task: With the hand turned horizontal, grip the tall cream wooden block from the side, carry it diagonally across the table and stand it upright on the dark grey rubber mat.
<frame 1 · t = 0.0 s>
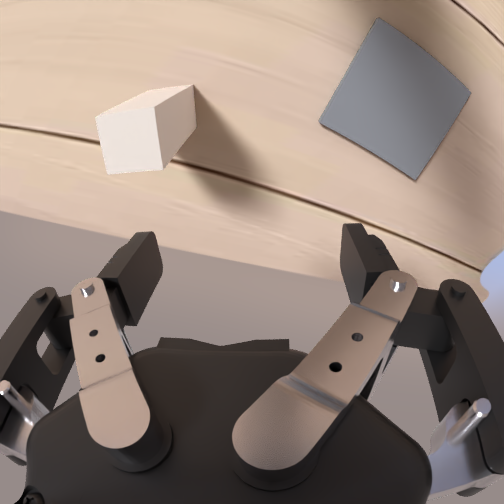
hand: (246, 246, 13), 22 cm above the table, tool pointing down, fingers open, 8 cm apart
cream block: (173, 108, 29), on the table
grey mat: (400, 101, 27), on the table
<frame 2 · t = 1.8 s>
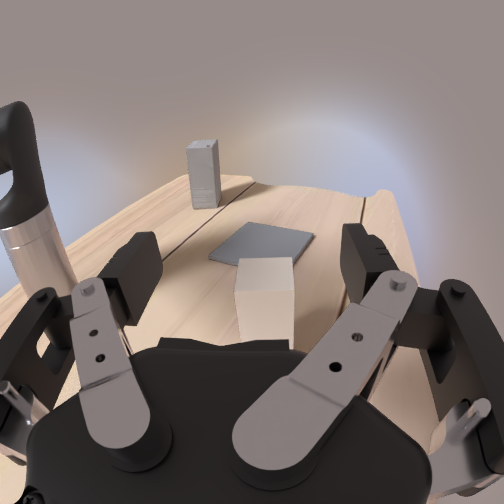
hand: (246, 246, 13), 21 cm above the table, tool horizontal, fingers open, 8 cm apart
cream block: (269, 358, 33), on the table
skincare box: (209, 203, 76), on the table
grey mat: (263, 247, 54), on the table
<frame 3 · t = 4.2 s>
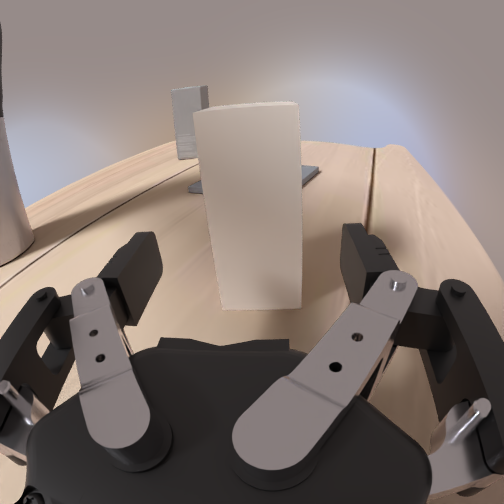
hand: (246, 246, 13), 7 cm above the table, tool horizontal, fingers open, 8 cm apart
cream block: (262, 286, 21), on the table
skincare box: (197, 155, 64), on the table
grey mat: (257, 180, 43), on the table
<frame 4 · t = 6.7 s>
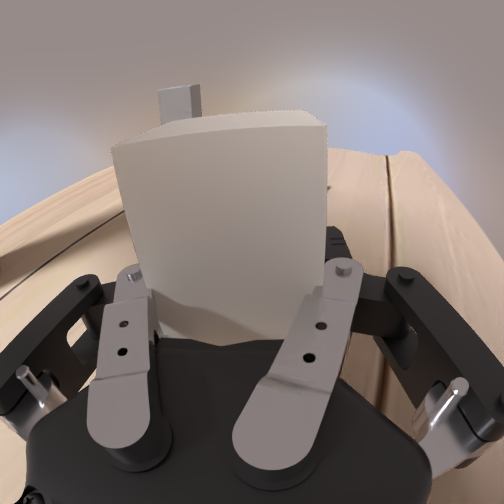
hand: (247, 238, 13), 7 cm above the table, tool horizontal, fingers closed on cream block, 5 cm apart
cream block: (255, 379, 14), on the table, touching gripper
skincare box: (188, 163, 57), on the table
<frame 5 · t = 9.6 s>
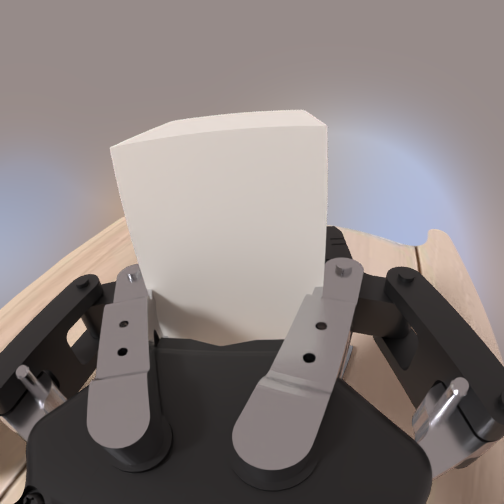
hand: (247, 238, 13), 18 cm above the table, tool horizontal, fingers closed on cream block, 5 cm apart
cream block: (255, 379, 14), point 11 cm above the table, touching gripper
when the fingers open (9 cm above the table, at t = 12.8 s): cream block drops 1 cm, resting on grey mat.
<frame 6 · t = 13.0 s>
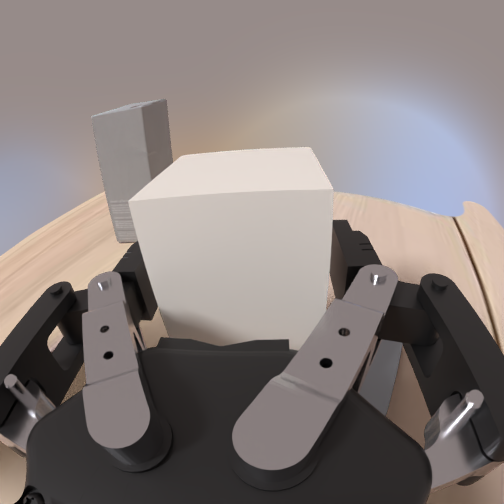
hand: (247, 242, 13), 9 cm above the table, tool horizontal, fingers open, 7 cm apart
cream block: (260, 394, 15), point 1 cm above the table, touching grey mat
skincare box: (152, 229, 37), on the table
grey mat: (257, 401, 15), on the table
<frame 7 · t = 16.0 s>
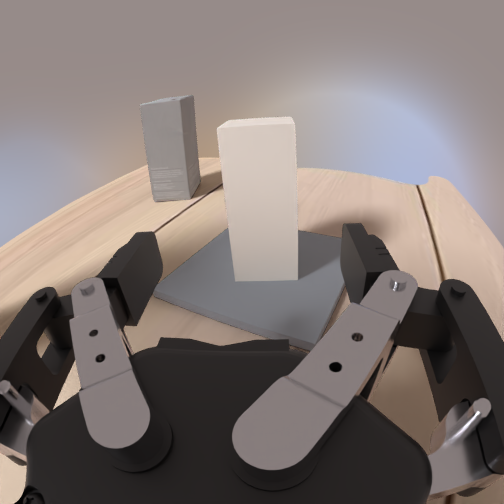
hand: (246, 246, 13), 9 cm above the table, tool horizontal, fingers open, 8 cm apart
cream block: (267, 263, 26), point 1 cm above the table, touching grey mat
skincare box: (180, 193, 48), on the table
grey mat: (265, 271, 27), on the table
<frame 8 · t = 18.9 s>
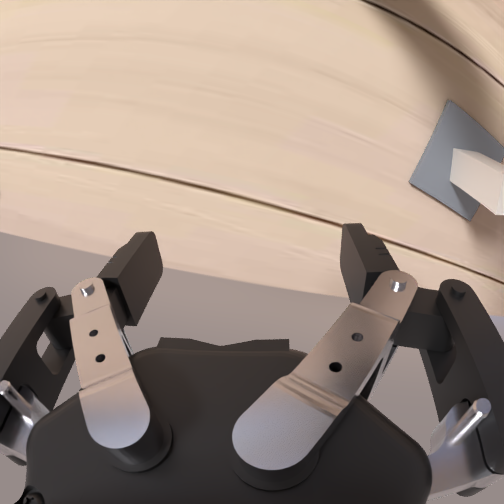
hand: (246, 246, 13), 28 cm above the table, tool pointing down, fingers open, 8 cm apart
cream block: (464, 166, 35), point 1 cm above the table, touching grey mat
grey mat: (461, 163, 35), on the table
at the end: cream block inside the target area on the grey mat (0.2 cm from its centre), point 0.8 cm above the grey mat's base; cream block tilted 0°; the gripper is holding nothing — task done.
